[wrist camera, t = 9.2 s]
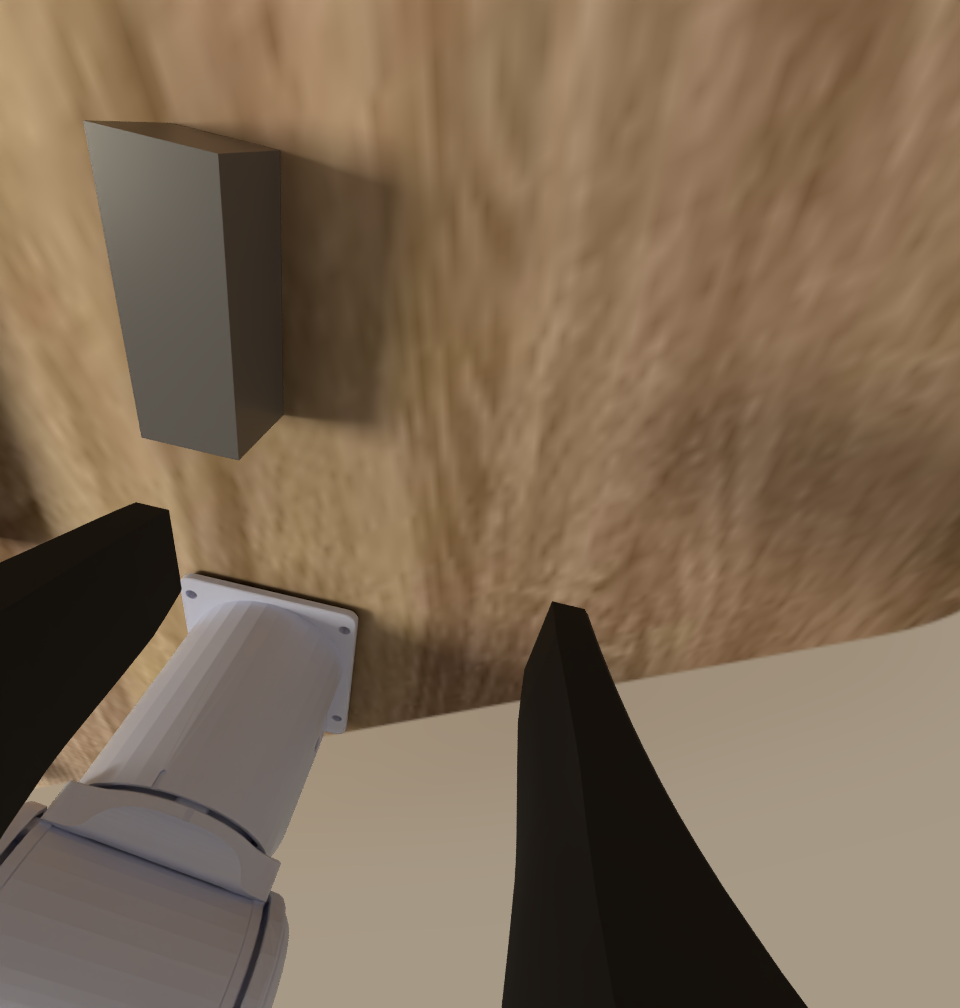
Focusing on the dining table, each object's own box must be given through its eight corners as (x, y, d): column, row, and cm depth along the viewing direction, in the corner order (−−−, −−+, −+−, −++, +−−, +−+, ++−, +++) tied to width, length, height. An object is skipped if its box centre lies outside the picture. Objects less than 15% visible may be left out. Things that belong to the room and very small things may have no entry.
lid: (436, 518, 22) (415, 586, 19) (70, 432, 22) (-17, 485, 18) (531, 41, 13) (522, 11, 10) (-77, -113, 13) (-290, -197, 10)
